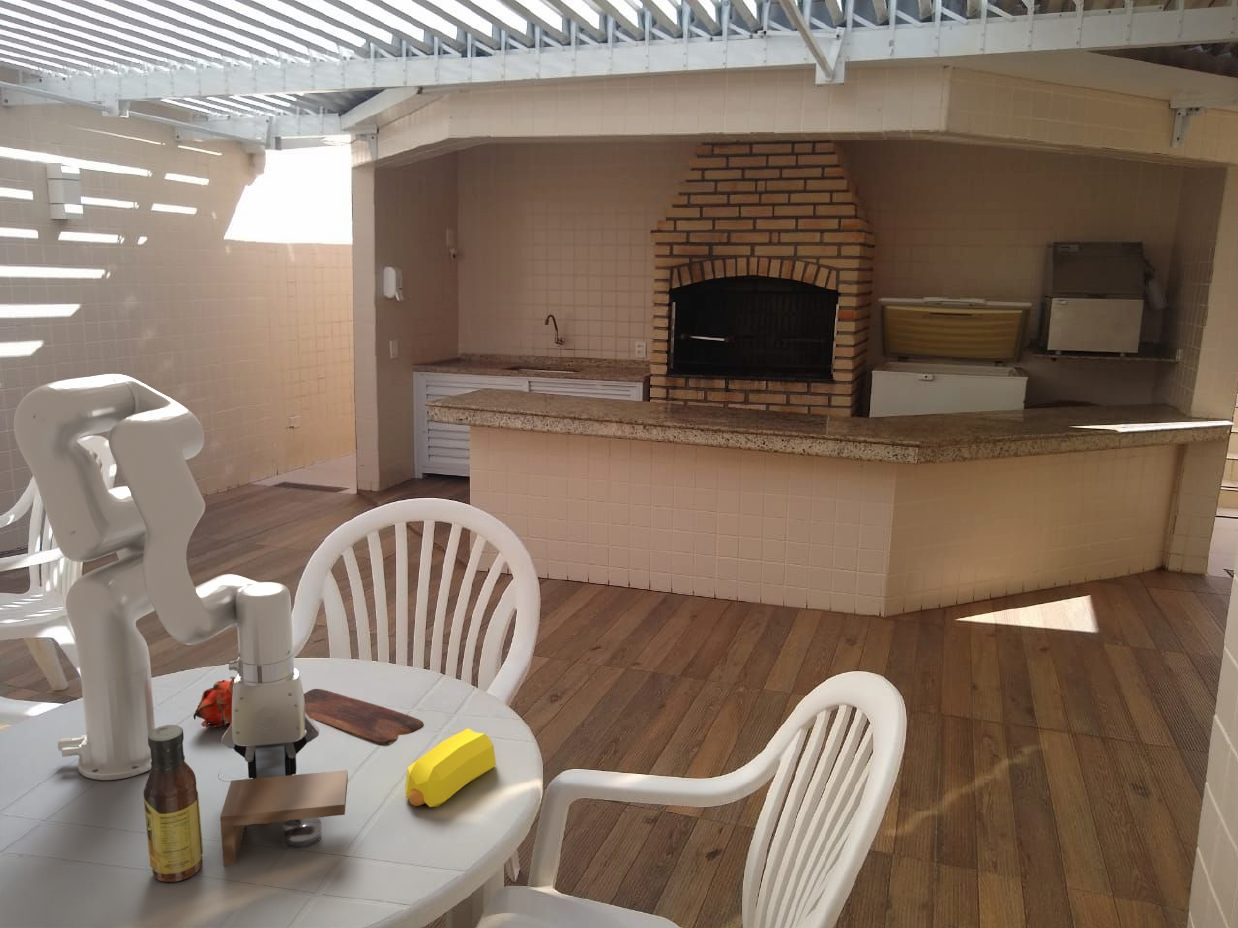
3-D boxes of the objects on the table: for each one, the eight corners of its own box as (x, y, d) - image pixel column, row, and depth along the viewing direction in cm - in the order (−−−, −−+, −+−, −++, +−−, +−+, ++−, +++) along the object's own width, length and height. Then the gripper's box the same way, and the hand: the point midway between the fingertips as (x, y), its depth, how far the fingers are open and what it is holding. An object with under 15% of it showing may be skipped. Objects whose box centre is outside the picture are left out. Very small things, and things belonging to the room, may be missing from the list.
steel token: (281, 851, 130) (280, 838, 130) (285, 830, 135) (284, 817, 134) (320, 847, 131) (319, 834, 131) (322, 826, 136) (322, 813, 136)
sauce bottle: (162, 856, 128) (150, 717, 124) (210, 855, 129) (201, 717, 124) (142, 887, 122) (129, 742, 118) (193, 886, 122) (182, 741, 118)
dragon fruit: (269, 720, 169) (202, 753, 161) (246, 683, 172) (179, 713, 164) (276, 695, 164) (207, 728, 156) (251, 657, 167) (182, 687, 159)
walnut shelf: (223, 864, 127) (220, 816, 125) (234, 826, 135) (231, 780, 134) (346, 851, 130) (344, 804, 129) (349, 814, 139) (347, 770, 137)
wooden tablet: (276, 701, 171) (320, 675, 179) (278, 712, 172) (321, 686, 180) (384, 743, 158) (427, 714, 166) (386, 755, 158) (428, 725, 166)
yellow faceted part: (507, 765, 154) (469, 752, 157) (507, 726, 152) (468, 714, 156) (432, 819, 138) (391, 804, 142) (431, 777, 137) (390, 762, 141)
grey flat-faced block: (249, 825, 135) (246, 780, 134) (261, 777, 148) (258, 735, 146) (279, 822, 136) (276, 777, 135) (288, 775, 149) (286, 733, 147)
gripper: (201, 681, 137) (209, 798, 141) (324, 673, 141) (329, 787, 144) (210, 660, 144) (218, 772, 148) (327, 652, 148) (332, 762, 152)
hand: (273, 778), depth 146 cm, fingers closed on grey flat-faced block, 4 cm apart
